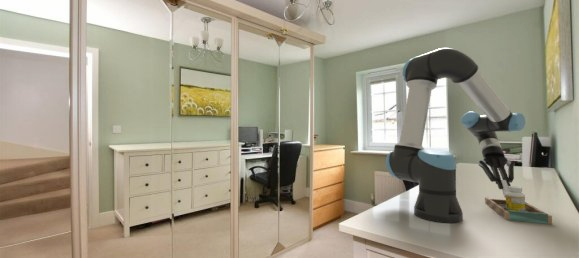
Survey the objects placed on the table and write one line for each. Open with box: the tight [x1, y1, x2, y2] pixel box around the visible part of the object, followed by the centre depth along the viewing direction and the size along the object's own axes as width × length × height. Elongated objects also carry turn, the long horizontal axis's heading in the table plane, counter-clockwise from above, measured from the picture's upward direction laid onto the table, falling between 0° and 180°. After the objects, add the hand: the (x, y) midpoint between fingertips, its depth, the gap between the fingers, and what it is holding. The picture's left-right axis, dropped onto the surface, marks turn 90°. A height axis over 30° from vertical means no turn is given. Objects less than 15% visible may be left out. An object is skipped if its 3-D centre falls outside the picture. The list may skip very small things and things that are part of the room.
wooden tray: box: [484, 196, 553, 225], centre depth 96 cm, size 22×12×3 cm, turn 158°
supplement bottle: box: [505, 185, 526, 212], centre depth 95 cm, size 5×5×10 cm
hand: (507, 195), depth 102 cm, fingers closed
